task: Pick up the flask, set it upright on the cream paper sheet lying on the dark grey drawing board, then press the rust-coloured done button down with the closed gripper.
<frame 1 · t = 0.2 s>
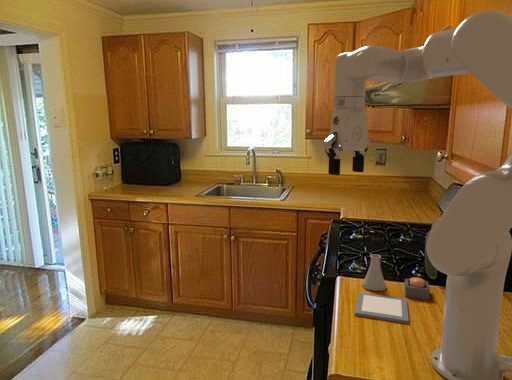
hand: (346, 173, 96), 37 cm above the countertop, tool pointing down, fingers open, 9 cm apart
button housing: (416, 293, 110), on the countertop
flask: (373, 287, 115), on the countertop
done button: (417, 284, 110), point 3 cm above the countertop, slide at 0.0 cm
drawing board: (381, 308, 101), on the countertop
vegetable: (430, 278, 122), on the countertop
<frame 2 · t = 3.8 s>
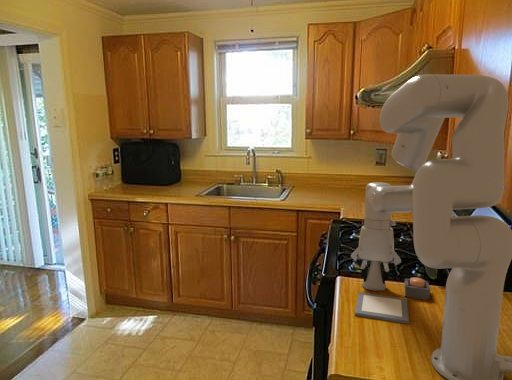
hand: (374, 280, 115), 2 cm above the countertop, tool pointing down, fingers closed on flask, 4 cm apart
flask: (373, 287, 115), on the countertop, touching gripper
everything else where it was.
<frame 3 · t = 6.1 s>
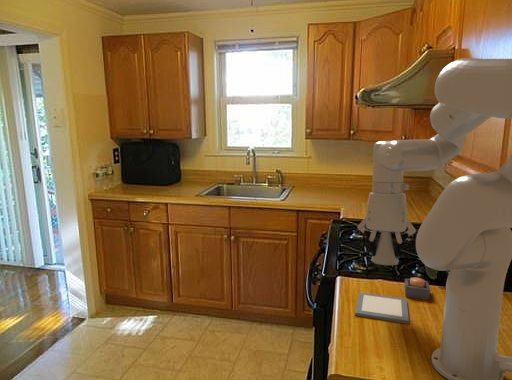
hand: (385, 255, 100), 15 cm above the countertop, tool pointing down, fingers closed on flask, 4 cm apart
flask: (384, 262, 100), point 12 cm above the countertop, touching gripper
everything else where it was.
when the fingers open (4 cm above the countertop, at t = 8.9 s): flask stays where it is, resting on drawing board.
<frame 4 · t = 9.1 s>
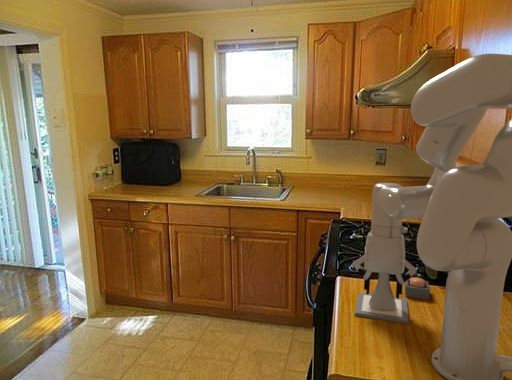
hand: (382, 293, 101), 4 cm above the countertop, tool pointing down, fingers open, 7 cm apart
flask: (382, 306, 101), point 1 cm above the countertop, touching drawing board
everything else where it was.
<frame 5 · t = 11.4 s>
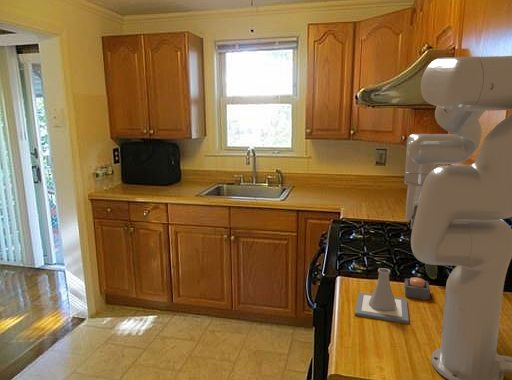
hand: (414, 237, 107), 17 cm above the countertop, tool pointing down, fingers open, 9 cm apart
nothing on the countertop moved.
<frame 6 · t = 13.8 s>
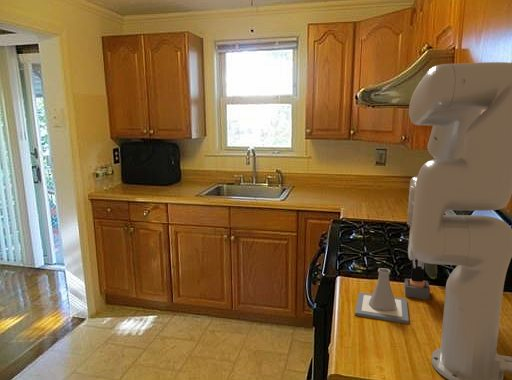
hand: (417, 280, 110), 4 cm above the countertop, tool pointing down, fingers closed
done button: (417, 284, 110), point 3 cm above the countertop, slide at 0.2 cm, touching gripper
everything else where it was.
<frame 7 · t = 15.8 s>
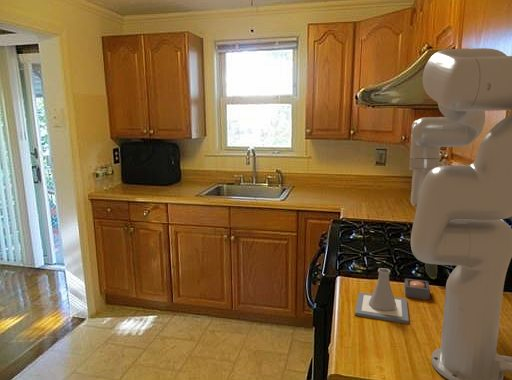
hand: (420, 229, 106), 20 cm above the countertop, tool pointing down, fingers closed
done button: (416, 288, 110), point 2 cm above the countertop, slide at 1.1 cm
everything else where it was.
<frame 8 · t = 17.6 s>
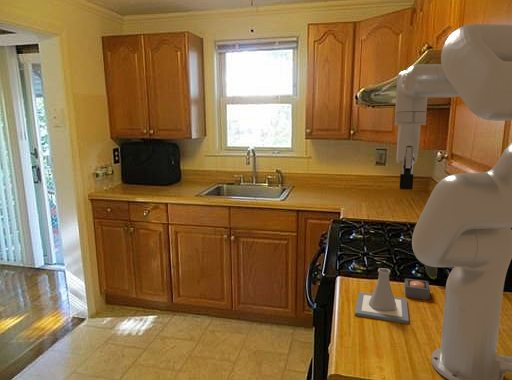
hand: (405, 188, 100), 32 cm above the countertop, tool pointing down, fingers closed
nothing on the countertop moved.
at the end: flask inside the target area on the drawing board (0.1 cm from its centre), point 0.7 cm above the drawing board's base; flask tilted 0°; done button slide at 1.1 cm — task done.
